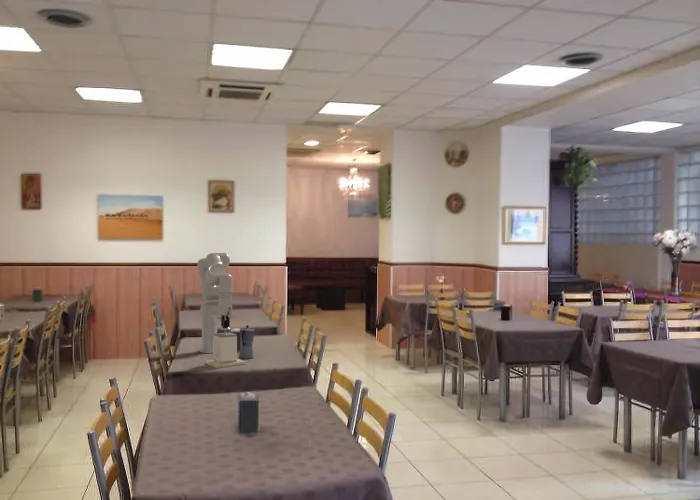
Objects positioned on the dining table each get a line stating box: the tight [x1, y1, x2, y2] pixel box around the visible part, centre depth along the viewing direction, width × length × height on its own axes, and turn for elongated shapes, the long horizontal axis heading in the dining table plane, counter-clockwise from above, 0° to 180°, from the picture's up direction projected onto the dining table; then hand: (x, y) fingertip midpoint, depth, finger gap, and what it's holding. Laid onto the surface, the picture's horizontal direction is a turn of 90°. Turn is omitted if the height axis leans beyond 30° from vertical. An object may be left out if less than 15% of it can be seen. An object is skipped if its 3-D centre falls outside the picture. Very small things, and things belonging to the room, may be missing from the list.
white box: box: [204, 331, 247, 369], centre depth 384 cm, size 15×19×18 cm
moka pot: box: [238, 324, 255, 360], centre depth 401 cm, size 10×15×20 cm, turn 174°
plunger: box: [220, 319, 231, 335], centre depth 384 cm, size 8×8×23 cm
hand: (225, 326), depth 384 cm, fingers closed on plunger, 3 cm apart
